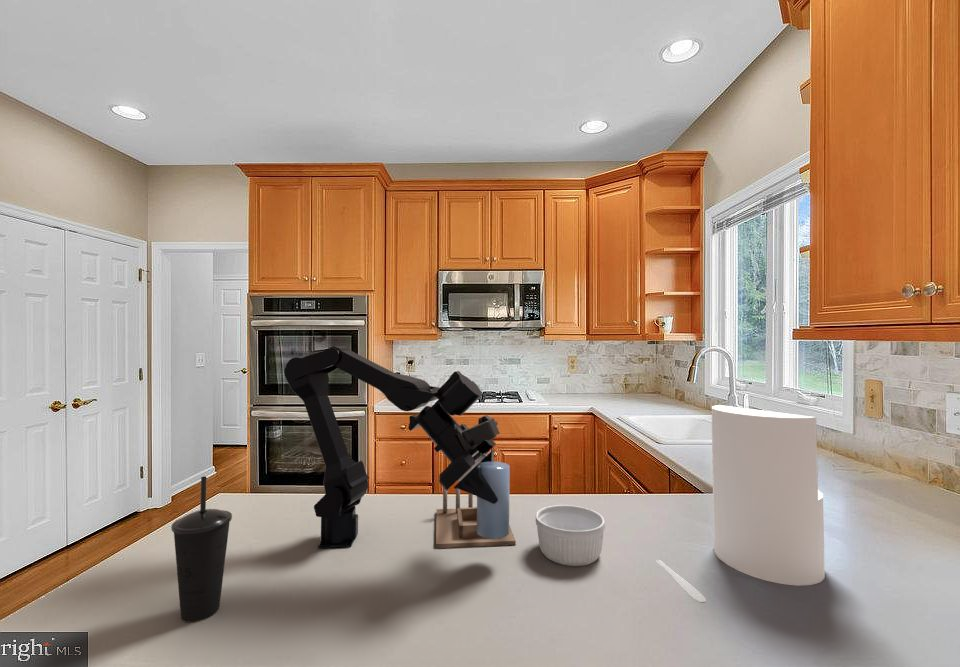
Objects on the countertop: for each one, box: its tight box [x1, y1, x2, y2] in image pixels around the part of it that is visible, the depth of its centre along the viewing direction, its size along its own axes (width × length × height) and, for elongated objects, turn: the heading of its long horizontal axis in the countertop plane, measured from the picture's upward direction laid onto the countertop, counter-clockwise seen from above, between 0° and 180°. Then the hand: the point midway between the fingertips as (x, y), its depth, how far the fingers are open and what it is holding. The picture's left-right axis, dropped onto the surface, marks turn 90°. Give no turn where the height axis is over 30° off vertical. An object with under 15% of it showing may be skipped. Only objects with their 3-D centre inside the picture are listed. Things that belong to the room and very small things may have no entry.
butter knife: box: [655, 559, 707, 604], centre depth 79 cm, size 1×27×3 cm
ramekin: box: [535, 504, 606, 567], centre depth 82 cm, size 13×13×7 cm
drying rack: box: [435, 486, 517, 549], centre depth 93 cm, size 16×18×7 cm
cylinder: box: [711, 404, 826, 587], centre depth 80 cm, size 17×17×28 cm
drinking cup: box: [170, 476, 233, 623], centre depth 63 cm, size 8×8×20 cm
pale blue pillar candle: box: [476, 461, 511, 539], centre depth 78 cm, size 6×6×12 cm
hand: (500, 496), depth 78 cm, fingers closed on pale blue pillar candle, 6 cm apart
